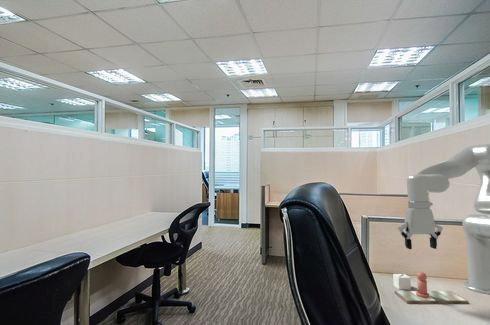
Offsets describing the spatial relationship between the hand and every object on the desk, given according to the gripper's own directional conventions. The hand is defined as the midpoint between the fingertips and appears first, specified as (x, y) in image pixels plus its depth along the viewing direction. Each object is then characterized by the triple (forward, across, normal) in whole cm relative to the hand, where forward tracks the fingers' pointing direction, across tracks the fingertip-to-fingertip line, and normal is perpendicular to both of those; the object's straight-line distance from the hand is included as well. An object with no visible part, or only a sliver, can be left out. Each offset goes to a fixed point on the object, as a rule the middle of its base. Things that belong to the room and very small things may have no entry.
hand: (421, 248), depth 118 cm
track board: (+20, -2, 0) cm, 20 cm away
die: (+20, +3, -12) cm, 23 cm away
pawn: (+19, 0, 0) cm, 19 cm away
